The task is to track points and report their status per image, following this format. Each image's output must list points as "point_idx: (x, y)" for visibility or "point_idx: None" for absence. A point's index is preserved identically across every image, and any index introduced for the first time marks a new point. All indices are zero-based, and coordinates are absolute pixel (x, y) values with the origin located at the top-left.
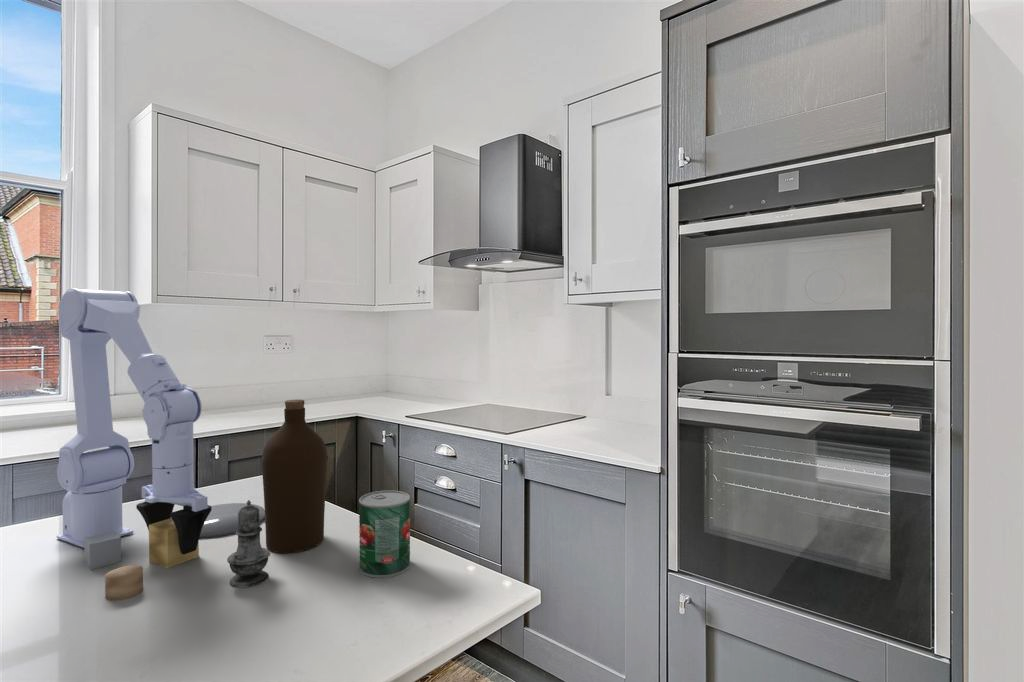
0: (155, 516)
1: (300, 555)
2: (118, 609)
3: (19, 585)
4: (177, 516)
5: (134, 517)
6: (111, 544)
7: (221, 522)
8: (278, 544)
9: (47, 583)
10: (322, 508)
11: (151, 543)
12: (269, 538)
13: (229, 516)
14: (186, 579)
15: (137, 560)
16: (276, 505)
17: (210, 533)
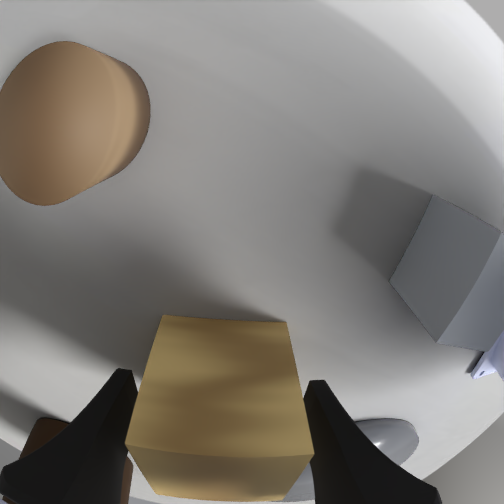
0: (339, 486)
1: (24, 411)
2: (13, 64)
3: (494, 51)
4: (3, 485)
5: (496, 391)
6: (444, 298)
7: None
8: (45, 431)
9: (452, 68)
10: None
11: (277, 379)
12: None
13: (308, 482)
14: (34, 279)
15: (337, 309)
16: None
17: None
